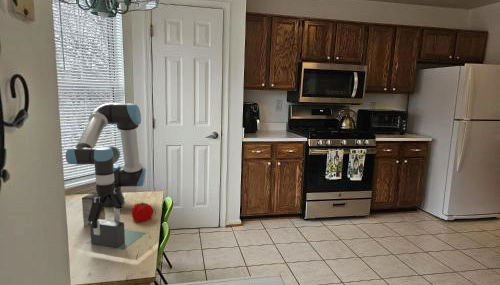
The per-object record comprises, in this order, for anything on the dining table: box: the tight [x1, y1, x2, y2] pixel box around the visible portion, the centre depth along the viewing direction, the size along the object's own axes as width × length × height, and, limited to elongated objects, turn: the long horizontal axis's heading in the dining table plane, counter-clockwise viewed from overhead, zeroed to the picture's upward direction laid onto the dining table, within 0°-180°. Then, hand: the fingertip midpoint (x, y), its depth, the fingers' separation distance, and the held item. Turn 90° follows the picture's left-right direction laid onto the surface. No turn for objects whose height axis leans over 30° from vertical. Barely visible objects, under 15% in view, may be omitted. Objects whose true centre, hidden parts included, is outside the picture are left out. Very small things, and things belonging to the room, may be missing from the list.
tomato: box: [131, 201, 154, 223], centre depth 179 cm, size 11×13×10 cm
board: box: [86, 228, 147, 251], centre depth 156 cm, size 18×20×6 cm
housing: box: [89, 219, 125, 249], centre depth 149 cm, size 5×14×10 cm, turn 75°
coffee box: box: [81, 192, 106, 227], centre depth 172 cm, size 9×6×16 cm
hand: (107, 227), depth 149 cm, fingers open, 13 cm apart
